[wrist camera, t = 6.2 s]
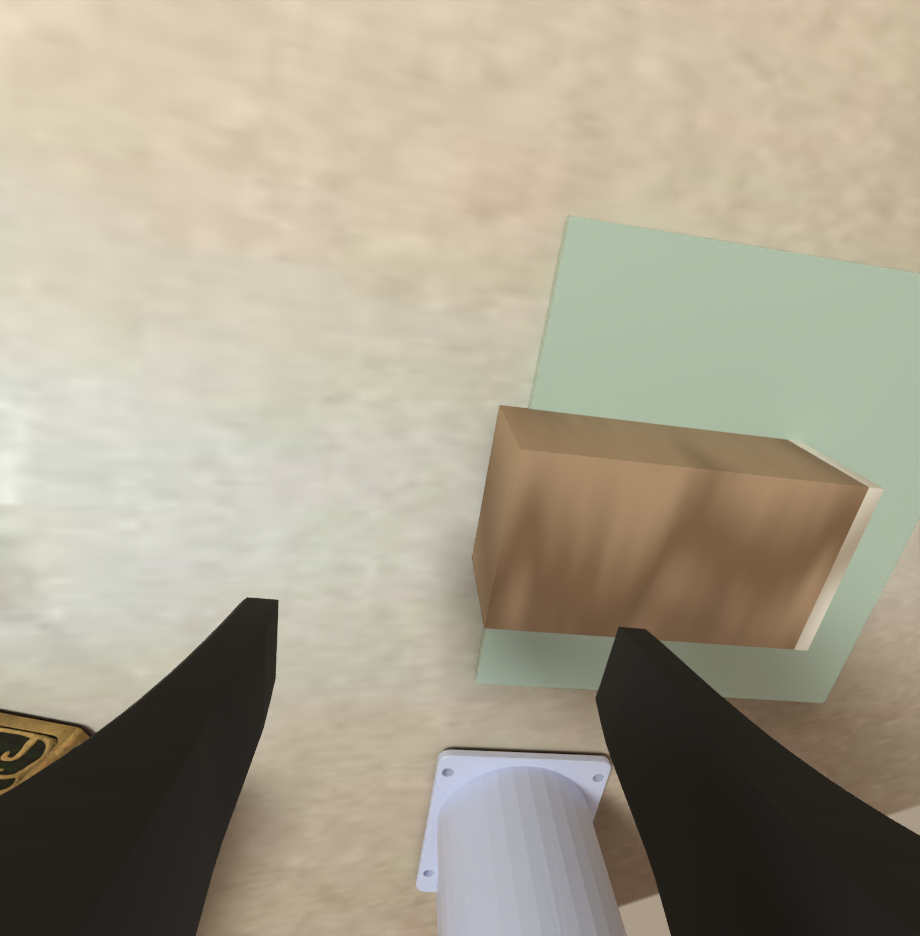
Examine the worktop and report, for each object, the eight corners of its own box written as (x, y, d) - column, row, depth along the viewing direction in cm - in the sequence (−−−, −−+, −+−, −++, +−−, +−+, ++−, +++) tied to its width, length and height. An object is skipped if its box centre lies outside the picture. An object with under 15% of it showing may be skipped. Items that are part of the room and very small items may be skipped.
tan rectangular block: (472, 558, 21) (744, 581, 23) (484, 628, 18) (807, 650, 19) (499, 405, 19) (800, 440, 20) (520, 449, 15) (884, 489, 17)
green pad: (818, 696, 26) (824, 703, 26) (474, 676, 24) (476, 683, 24) (1023, 291, 19) (1035, 292, 19) (566, 215, 17) (570, 216, 17)
